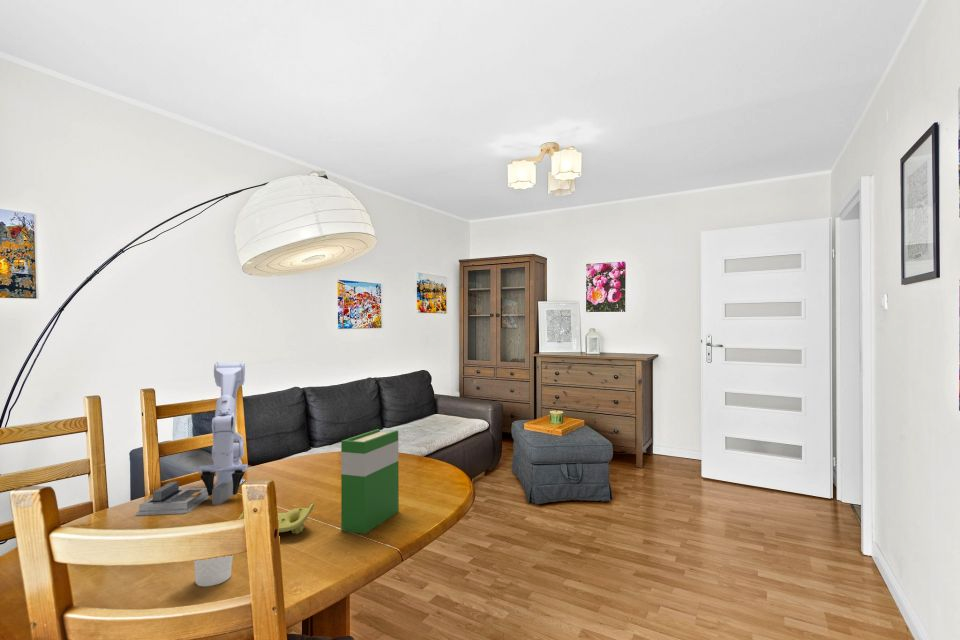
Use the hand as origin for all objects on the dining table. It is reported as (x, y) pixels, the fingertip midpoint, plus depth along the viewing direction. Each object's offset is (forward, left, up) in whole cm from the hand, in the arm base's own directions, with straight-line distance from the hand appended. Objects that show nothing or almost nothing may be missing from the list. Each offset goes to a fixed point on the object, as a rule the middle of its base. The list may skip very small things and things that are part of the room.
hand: (223, 494), depth 157 cm
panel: (0, 0, -2) cm, 2 cm away
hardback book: (+25, +50, -2) cm, 56 cm away
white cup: (+55, +20, -2) cm, 59 cm away
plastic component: (+30, +26, -2) cm, 40 cm away
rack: (+4, -13, -2) cm, 13 cm away
